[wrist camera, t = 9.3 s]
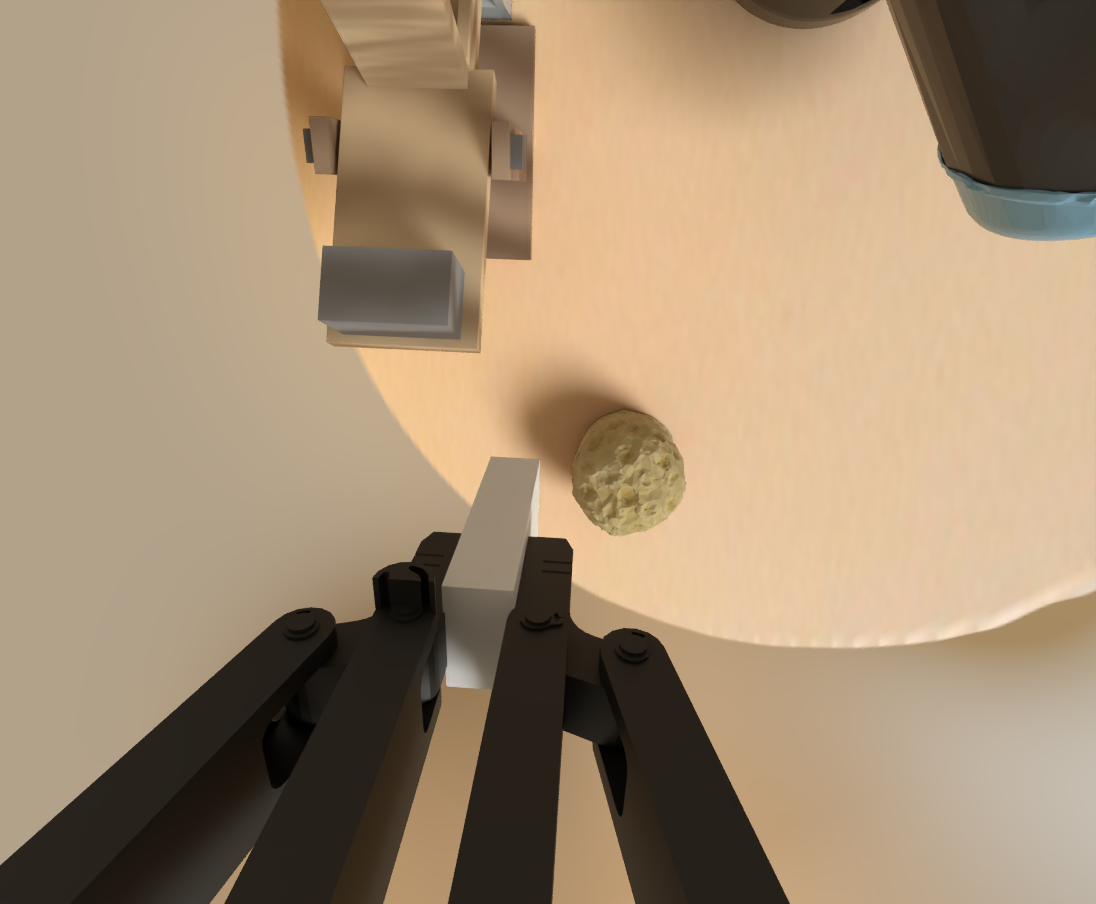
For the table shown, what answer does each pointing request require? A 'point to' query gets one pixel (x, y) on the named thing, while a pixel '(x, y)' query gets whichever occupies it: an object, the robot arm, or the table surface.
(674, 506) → the decorative item
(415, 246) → the lever
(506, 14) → the blue open box
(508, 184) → the catapult stand
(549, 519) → the table surface
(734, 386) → the table surface
